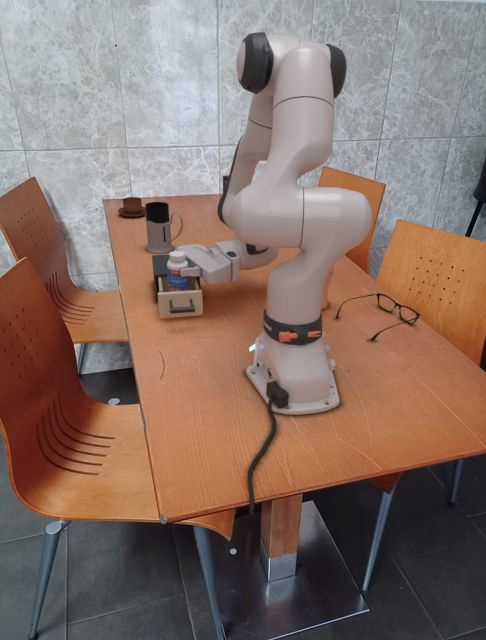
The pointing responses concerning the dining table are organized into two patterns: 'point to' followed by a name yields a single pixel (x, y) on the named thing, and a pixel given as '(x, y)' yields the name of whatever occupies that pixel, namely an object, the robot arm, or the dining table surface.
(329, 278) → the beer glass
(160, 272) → the cabinet
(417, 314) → the eyeglasses
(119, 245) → the dining table surface
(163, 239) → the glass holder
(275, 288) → the robot arm
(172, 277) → the pill bottle
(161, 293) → the drawer
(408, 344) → the dining table surface
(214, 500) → the dining table surface
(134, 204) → the brown round flanged piece
